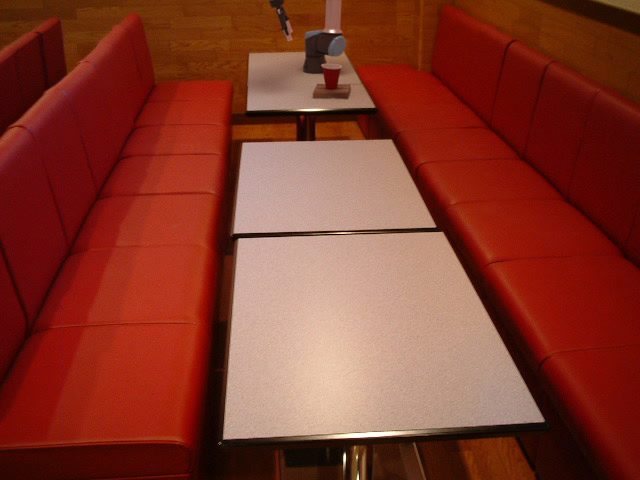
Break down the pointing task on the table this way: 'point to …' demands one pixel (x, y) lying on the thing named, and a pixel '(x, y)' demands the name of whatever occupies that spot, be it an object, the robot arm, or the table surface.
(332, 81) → the plastic cup
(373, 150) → the table surface
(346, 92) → the walnut stand
